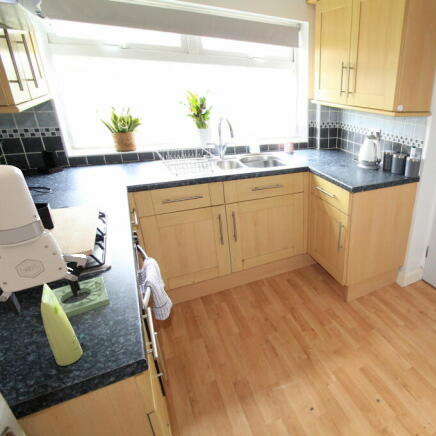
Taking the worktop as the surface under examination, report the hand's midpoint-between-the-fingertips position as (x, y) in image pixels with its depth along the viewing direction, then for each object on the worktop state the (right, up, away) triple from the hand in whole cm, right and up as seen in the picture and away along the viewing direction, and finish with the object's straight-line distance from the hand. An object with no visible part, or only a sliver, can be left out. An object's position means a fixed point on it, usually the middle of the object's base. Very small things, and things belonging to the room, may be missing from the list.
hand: (48, 302), depth 68 cm
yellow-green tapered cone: (-1, -15, +7) cm, 17 cm away
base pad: (-12, -7, +24) cm, 28 cm away
